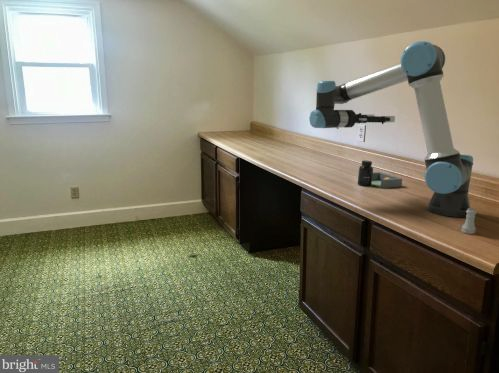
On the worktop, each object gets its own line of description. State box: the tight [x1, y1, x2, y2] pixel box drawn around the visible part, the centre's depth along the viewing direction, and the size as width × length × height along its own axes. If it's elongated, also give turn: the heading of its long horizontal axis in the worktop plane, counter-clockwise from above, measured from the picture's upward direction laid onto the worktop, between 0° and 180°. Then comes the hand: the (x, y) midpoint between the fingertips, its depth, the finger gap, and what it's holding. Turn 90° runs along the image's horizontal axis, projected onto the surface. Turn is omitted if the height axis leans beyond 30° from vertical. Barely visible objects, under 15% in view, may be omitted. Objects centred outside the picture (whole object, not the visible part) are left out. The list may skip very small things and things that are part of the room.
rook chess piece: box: [460, 208, 478, 235], centre depth 138 cm, size 4×4×8 cm
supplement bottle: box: [357, 159, 374, 187], centre depth 203 cm, size 7×7×12 cm
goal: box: [371, 171, 403, 189], centre depth 208 cm, size 12×17×4 cm
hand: (383, 118), depth 185 cm, fingers open, 13 cm apart
